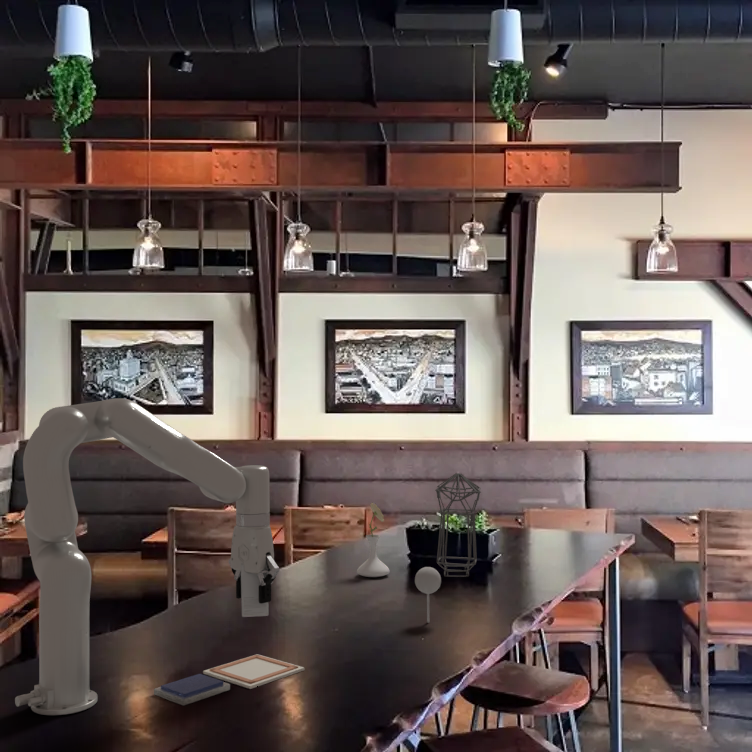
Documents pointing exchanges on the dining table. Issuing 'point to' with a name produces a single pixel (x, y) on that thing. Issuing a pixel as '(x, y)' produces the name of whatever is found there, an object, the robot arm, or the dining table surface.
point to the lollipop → (428, 583)
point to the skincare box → (251, 595)
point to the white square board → (253, 671)
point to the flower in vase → (373, 552)
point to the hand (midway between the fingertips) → (253, 599)
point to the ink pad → (191, 689)
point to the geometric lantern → (475, 490)
